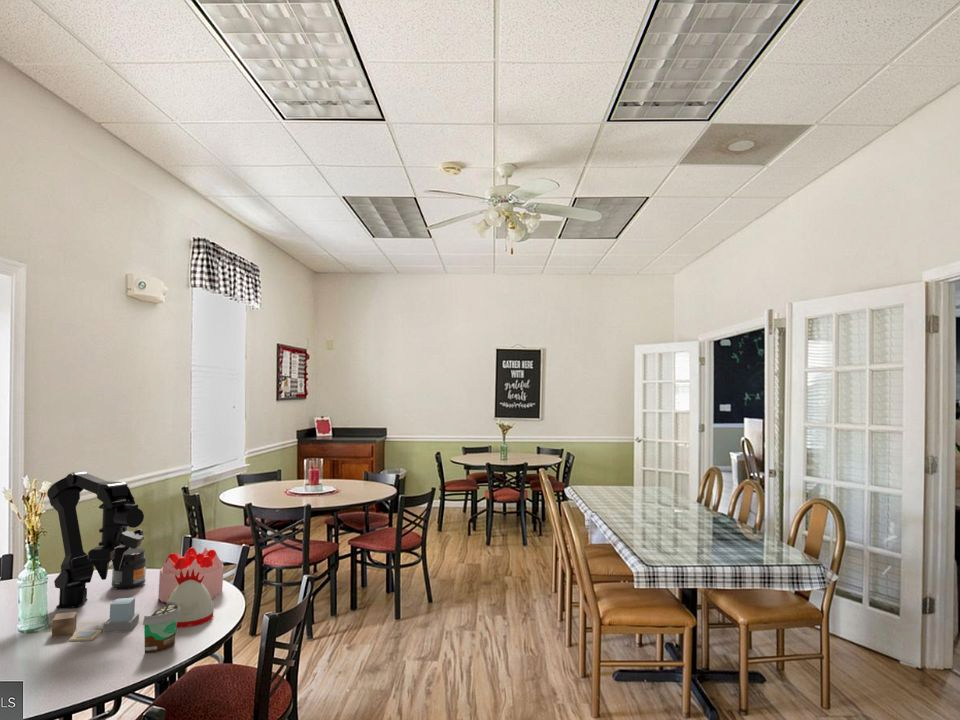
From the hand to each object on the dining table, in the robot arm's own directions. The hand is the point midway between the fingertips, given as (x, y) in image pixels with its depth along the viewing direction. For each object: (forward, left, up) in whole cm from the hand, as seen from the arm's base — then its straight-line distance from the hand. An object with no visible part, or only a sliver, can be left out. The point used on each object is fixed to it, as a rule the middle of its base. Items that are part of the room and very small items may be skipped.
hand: (110, 574), depth 190 cm
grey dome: (+25, -6, -12) cm, 29 cm away
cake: (+19, +16, -12) cm, 28 cm away
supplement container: (-5, +28, -12) cm, 31 cm away
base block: (+8, -11, -12) cm, 18 cm away
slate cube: (+8, -11, -10) cm, 17 cm away
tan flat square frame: (+1, -17, -12) cm, 21 cm away
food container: (+25, -26, -12) cm, 38 cm away
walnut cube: (-6, -14, -12) cm, 19 cm away
